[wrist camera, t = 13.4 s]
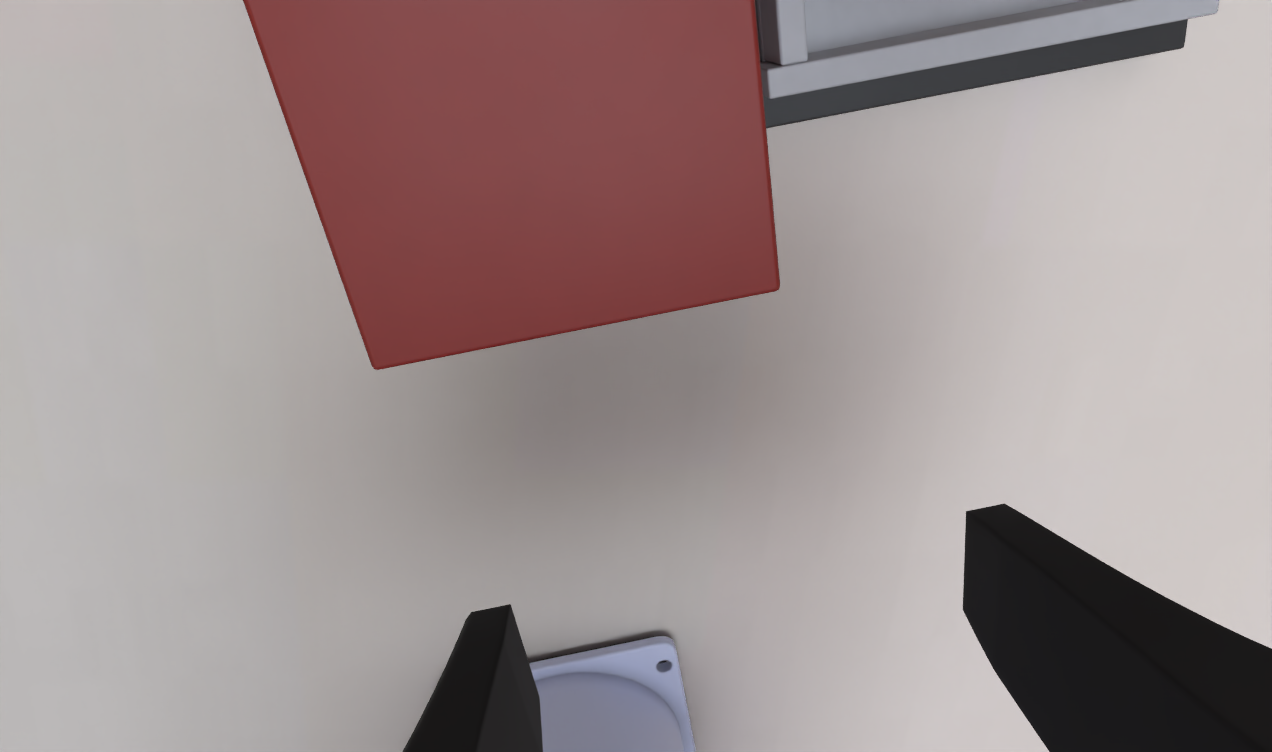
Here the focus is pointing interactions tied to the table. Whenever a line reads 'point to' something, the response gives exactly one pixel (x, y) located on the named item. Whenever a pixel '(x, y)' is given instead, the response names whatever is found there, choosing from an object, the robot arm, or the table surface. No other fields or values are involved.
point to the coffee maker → (609, 138)
